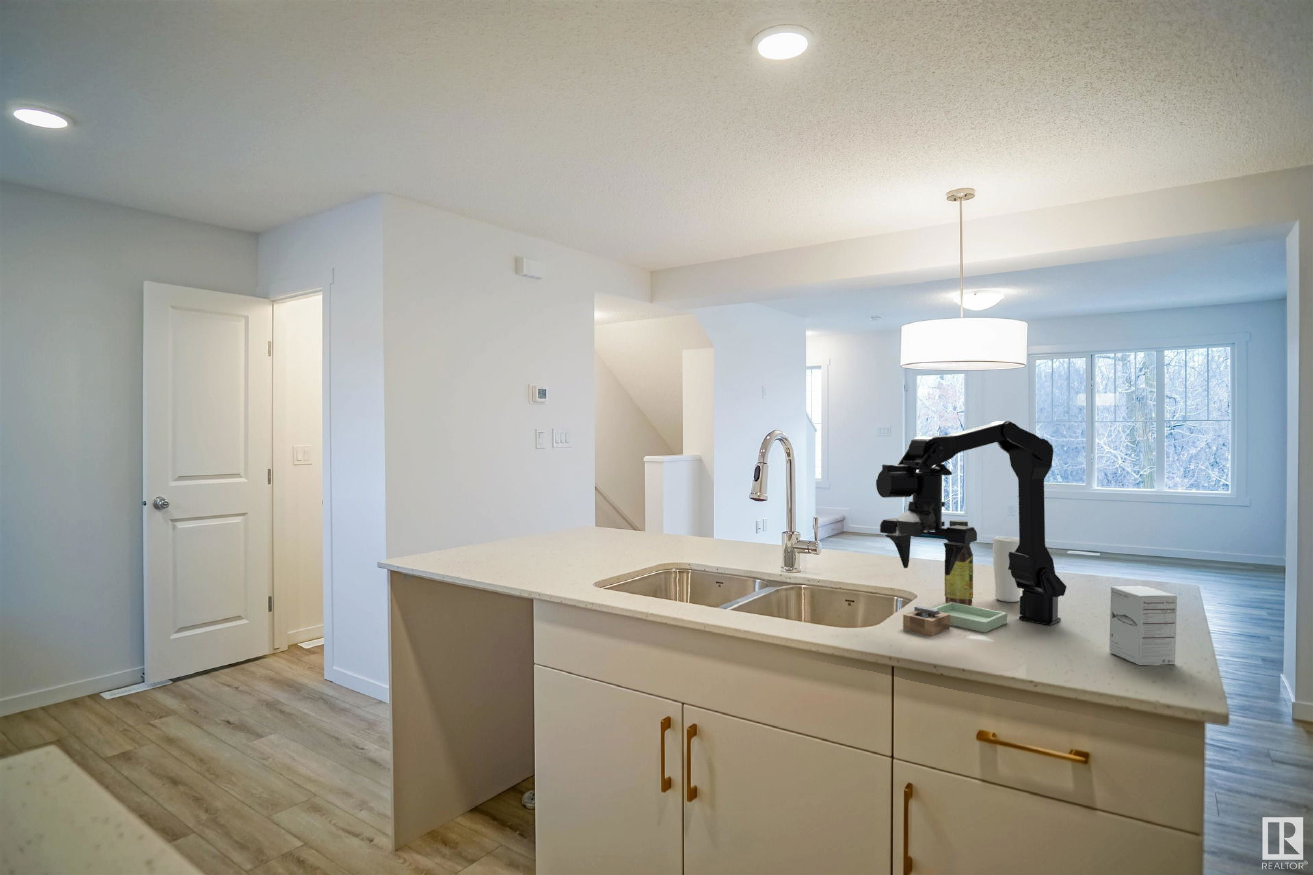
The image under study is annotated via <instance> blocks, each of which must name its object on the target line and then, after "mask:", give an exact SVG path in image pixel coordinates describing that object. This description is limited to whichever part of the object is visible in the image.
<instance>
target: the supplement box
mask: <svg viewBox="0 0 1313 875" xmlns="http://www.w3.org/2000/svg"><path fill="white" fill-rule="evenodd" d="M1177 608H1178V596H1177V595H1176V594H1173V593H1168V592H1166V591H1163V590H1159V589H1156V588H1153V587H1148V586H1145V585H1124V586H1123V585H1122V586H1121V585H1117V586H1110V609H1109V610H1110V612H1109V645H1108V646H1109V647H1108V652H1109V653H1110V654H1114V655H1116V656H1118V657H1120V658H1123V659H1125V660H1127V661H1128V662H1132V663H1133V662H1134V663H1133V664H1135V663H1136V665H1137V664H1138V665H1137V666H1139V665H1151V666H1155V665H1154V664H1175V665H1176V650H1177V649H1176V644H1177V615H1178V614H1177V612H1178V609H1177Z"/></svg>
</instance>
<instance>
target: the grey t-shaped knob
mask: <svg viewBox="0 0 1313 875" xmlns="http://www.w3.org/2000/svg"><path fill="white" fill-rule="evenodd" d="M932 608H933V607H932ZM932 608H931V607H925V606H921V605H916V606H914V608H913V611H918V612H922V615H921V617H923V618H930V617H932V615H938V614H939V610H936V609H932Z"/></svg>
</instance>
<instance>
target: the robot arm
mask: <svg viewBox="0 0 1313 875" xmlns="http://www.w3.org/2000/svg"><path fill="white" fill-rule="evenodd" d="M995 443H997V445H998V446H999V448H1000V450H1002V451H1003V452H1005V453H1006V454H1008V456H1009V463H1010V467H1011V468H1012V470H1013V472H1014V474H1015V476H1016V477H1017V480H1018V483H1017V484H1018V490H1017V491H1018V534H1019V535H1018V536H1019V537H1018V538H1019V545H1018V547H1017V549H1016V550H1015V552H1009V567H1008V570H1011V575H1012V577H1013V578H1014V579H1015V582H1016V585H1017V588H1020V590H1021V589H1022V591H1021V592H1022V593H1021V594H1022V595H1020V600H1019V616H1018V620H1022V621H1027V622H1032V623H1037V624H1043V625H1047V626H1052V625H1054V624H1056V623H1058V622H1060V621H1062V618H1061V617H1059V597H1064V596H1065V594H1066V590H1067V585H1066V584H1065V583H1064V581H1062V579H1061V578H1060V577H1059V576H1058V575H1057V574H1056V570H1055V569H1056V568H1055V564H1054V559H1053V557H1052V556H1051V553H1050V551H1049V550H1048V548H1047V546H1046V526H1045V525H1046V522H1045V520H1046V519H1045V517H1046V514H1045V513H1046V512H1045V508H1046V507H1045V480H1046V477H1047V475H1048V473H1050V470H1052V466H1053V460H1054V458H1053V457H1054V447H1053V444H1052V443H1050V441H1048V440H1047V439H1046V438H1040V437H1039V436H1038V435H1036V434H1035V433H1032V432H1030V431H1028V430H1026V429H1023V428H1022V427H1020V426H1018V425H1017V424H1016V423H1014V422H1012V421H1010V420H1009V421H1008V420H1003V421H1002V420H999V421H997V420H996V421H993V422H991V423H987V424H983V425H981V426H978V427H973V428H970V429H966V430H965V429H964V430H962V431H958V432H955V433H950V434H945V435H924V436H923V435H921V436H916V437H914V438H912V439H910V443H909V444H908V448H907V451H906V452H905V454H904V455H902V458H901V459H900V461H899V462H898V463H897V464H887V463H885V464H882V465H881V466H882V467H881V470H880V472H879V473H878V475H877V478H876V480H875V481H876V482H875V486H876V490H877V493H878V494H879V496H880V497H881V498H885V499H886V498H889V499H890V498H911V497H912V500H911V501H909V502H908V507H907V508H908V509H907V511H904V512H903V513H902V514H900V515H899V516H897V517H892V518H886V519H882V521H881V522H880V524H879V533H880V534H885V535H884V536H885V537H886V538H889V539H890V541H892V542H893V544H894V546H895V547H896V550H897V552H898V555H899V558H900V561H901V564H902V567H903V569H907V568H908V567H909V564H910V557H911V556H910V554H911V541H912V537H919V536H921V535H929V536H934V537H936V536H937V537H943V538H945V539H946V541H947V542H943V546H944V549H946V558H945V557H944V576H945V575H950V573H951V571H952V569H953V567H954V565H955V562H956V560H957V558H958V556H959V555H960V553H961V551H962V550H963V548H964V547H965V546H966V545H970V546H971V543H974V542H977V541H978V532H977V530H976V529H975V527H974V526H968V527H967V526H959V525H956V526H951V527H950V526H947V527H945V526H946V524H945V523H946V522H945V521H944V520H943V519H942V516H943V515H942V514H943V512H942V511H943V510H942V509H943V508H944V507H945V506H946V505H945V504H946V502H945V501H943V476H951V475H952V474H953V472H952V471H951V470H950V469H949V468H947V467H946V465H945V464H944V463H946V462H947V461H950V460H952V459H953V458H955V456H956V455H958V454H960V453H962V452H966V451H969V450H972V449H977V448H980V447H984V446H988V445H991V444H995Z"/></svg>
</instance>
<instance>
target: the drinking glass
mask: <svg viewBox="0 0 1313 875" xmlns="http://www.w3.org/2000/svg"><path fill="white" fill-rule="evenodd" d="M1018 545H1019V537H1011V536H994V537H993V538H992V561H993V562H992V564H993V574H994V577H993V578H994V588H995V589H994V592H995V594H994V596H995V599H996V600H998V601H1001V602H1005V603H1017V602H1020V596H1021V588H1017V585H1016V582H1015V579H1014V578H1013V577H1012V575H1011V570H1008V567H1009V552H1015V550H1016V549H1017V547H1018Z"/></svg>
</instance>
